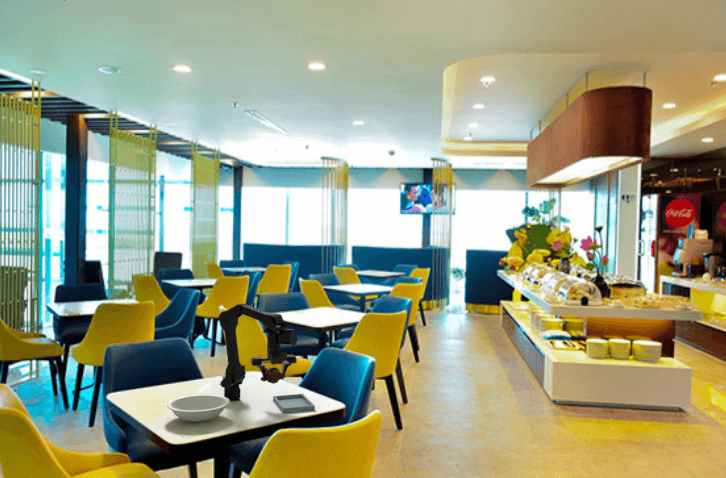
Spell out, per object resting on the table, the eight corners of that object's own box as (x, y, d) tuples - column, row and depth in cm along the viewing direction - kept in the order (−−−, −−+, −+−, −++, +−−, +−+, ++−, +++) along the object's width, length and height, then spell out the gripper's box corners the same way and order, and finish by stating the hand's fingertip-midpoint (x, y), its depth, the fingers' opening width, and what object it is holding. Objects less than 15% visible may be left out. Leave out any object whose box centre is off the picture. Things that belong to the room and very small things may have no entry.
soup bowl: (214, 407, 243) (214, 391, 243) (240, 421, 224) (240, 404, 224) (157, 417, 228) (158, 400, 228) (180, 433, 209) (180, 415, 209)
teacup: (221, 386, 276) (221, 377, 276) (217, 382, 285) (217, 372, 285) (242, 384, 281) (242, 375, 281) (236, 380, 290) (237, 371, 290)
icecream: (293, 368, 242) (269, 367, 252) (280, 367, 237) (256, 365, 246) (291, 385, 241) (267, 383, 250) (278, 384, 235) (254, 382, 244)
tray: (282, 413, 235) (282, 408, 235) (273, 400, 253) (273, 396, 253) (314, 410, 240) (314, 405, 240) (302, 398, 258) (302, 393, 258)
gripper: (254, 348, 233) (254, 386, 233) (299, 345, 239) (299, 383, 239) (250, 343, 243) (250, 380, 243) (293, 341, 249) (293, 377, 249)
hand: (273, 380), depth 243 cm, fingers closed on icecream, 7 cm apart
